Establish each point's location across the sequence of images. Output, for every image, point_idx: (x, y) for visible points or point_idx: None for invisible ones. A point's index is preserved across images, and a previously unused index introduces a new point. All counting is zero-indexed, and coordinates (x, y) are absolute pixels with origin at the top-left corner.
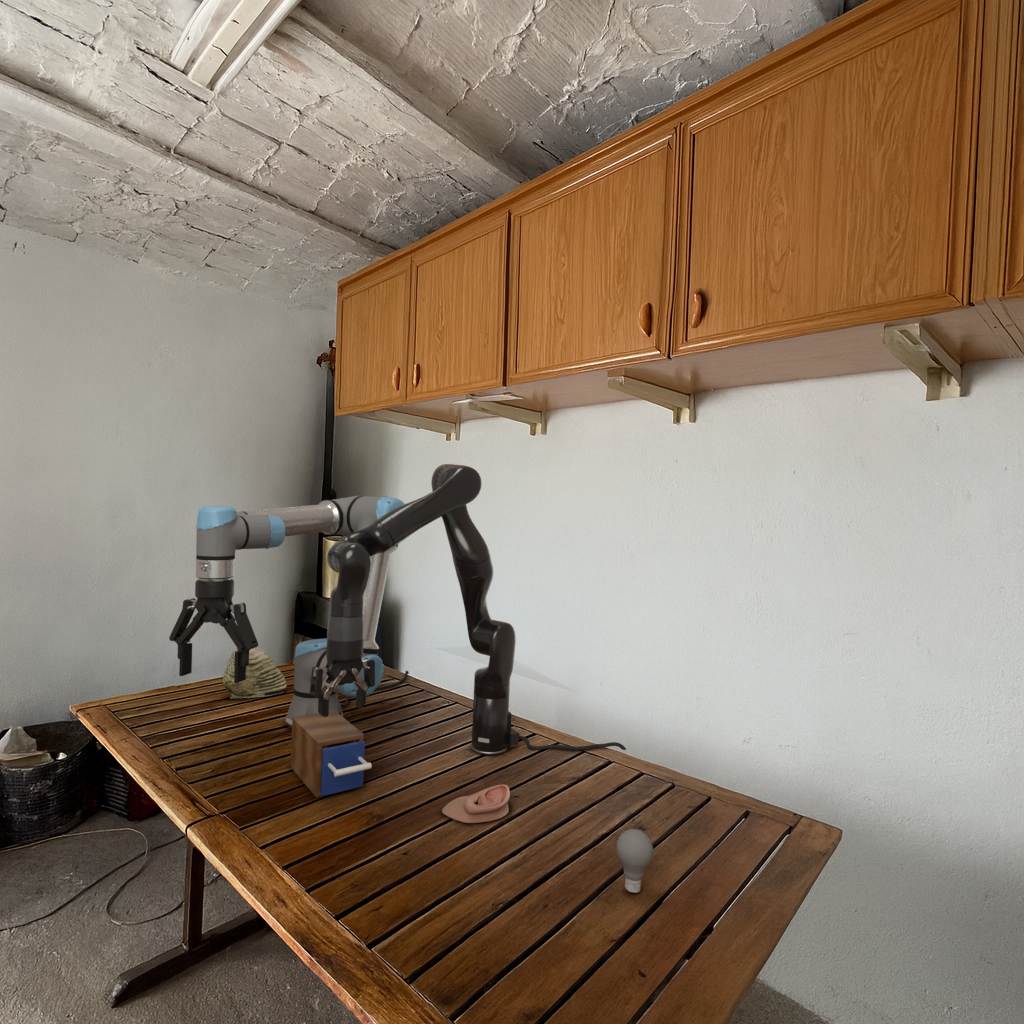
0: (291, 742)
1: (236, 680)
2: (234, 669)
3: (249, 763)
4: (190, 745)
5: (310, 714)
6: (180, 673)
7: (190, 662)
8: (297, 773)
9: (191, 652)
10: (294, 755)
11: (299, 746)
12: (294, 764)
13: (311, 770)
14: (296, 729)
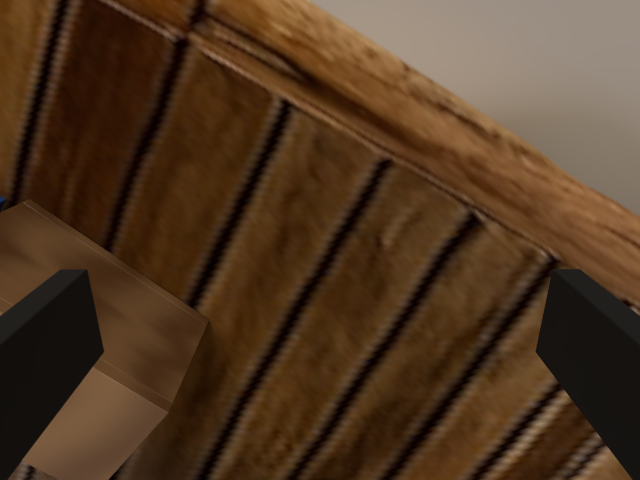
0: (190, 357)
1: (55, 277)
2: (25, 323)
3: (318, 304)
4: (534, 344)
5: (133, 449)
6: (580, 278)
7: (582, 396)
8: (158, 288)
9: (637, 476)
10: (171, 324)
11: (119, 323)
12: (176, 310)
13: (34, 243)
14: (133, 368)
